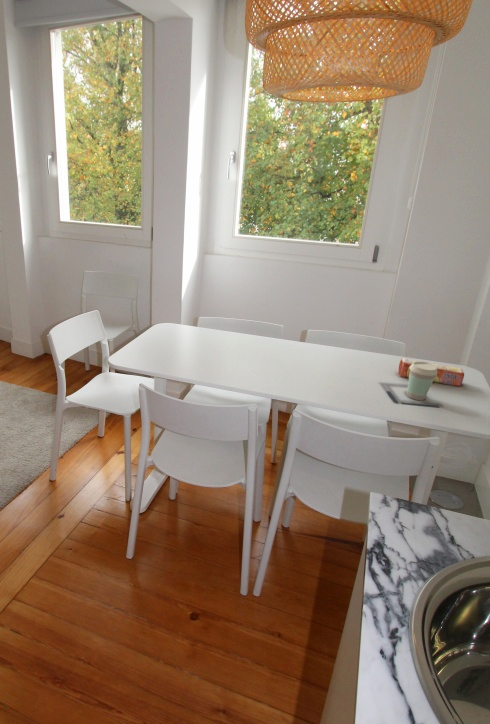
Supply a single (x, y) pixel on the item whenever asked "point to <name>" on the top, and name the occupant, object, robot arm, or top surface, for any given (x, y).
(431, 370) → the coffee cup
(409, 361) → the snack package
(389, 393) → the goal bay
